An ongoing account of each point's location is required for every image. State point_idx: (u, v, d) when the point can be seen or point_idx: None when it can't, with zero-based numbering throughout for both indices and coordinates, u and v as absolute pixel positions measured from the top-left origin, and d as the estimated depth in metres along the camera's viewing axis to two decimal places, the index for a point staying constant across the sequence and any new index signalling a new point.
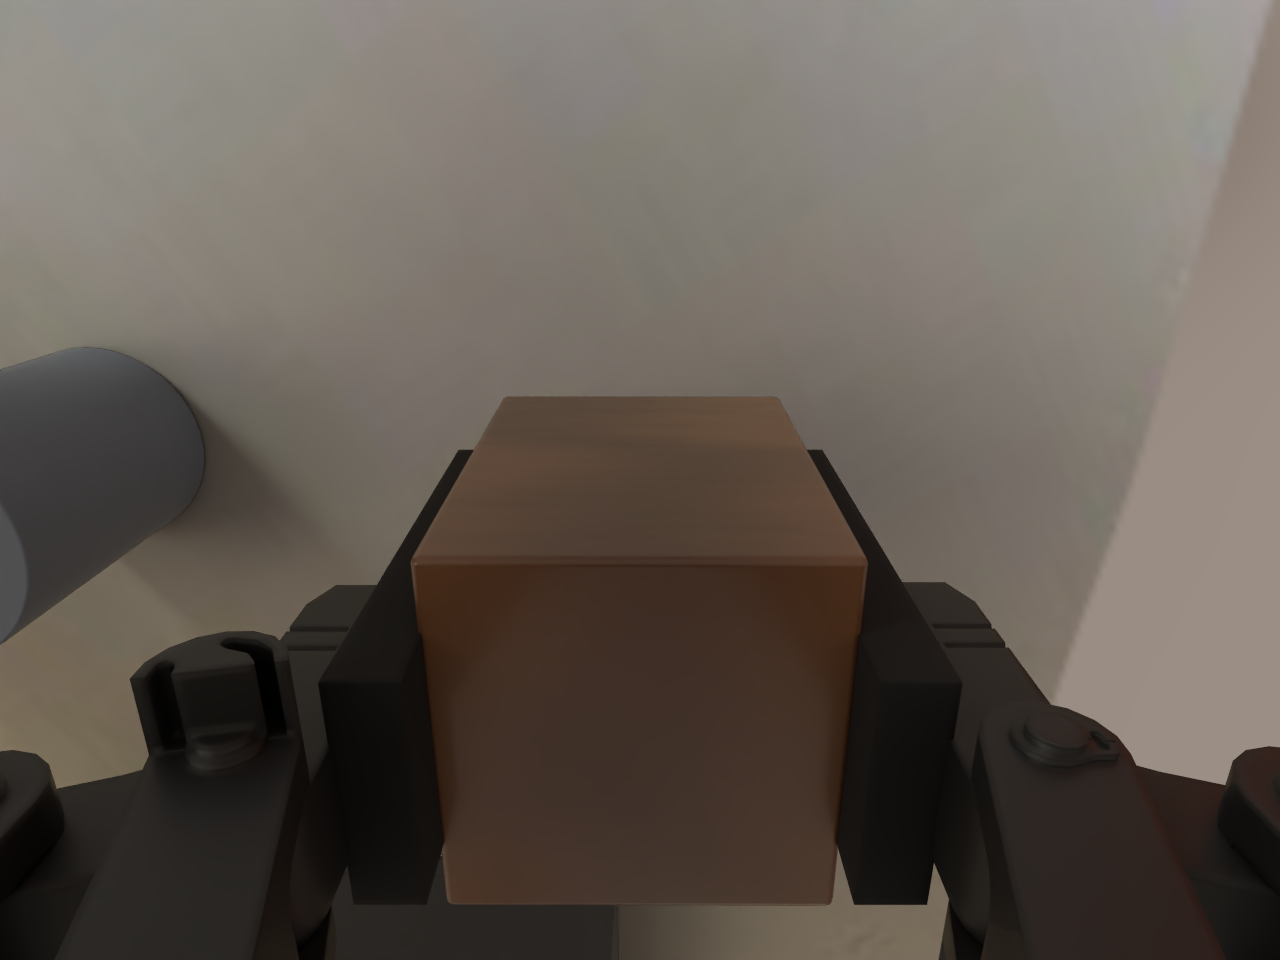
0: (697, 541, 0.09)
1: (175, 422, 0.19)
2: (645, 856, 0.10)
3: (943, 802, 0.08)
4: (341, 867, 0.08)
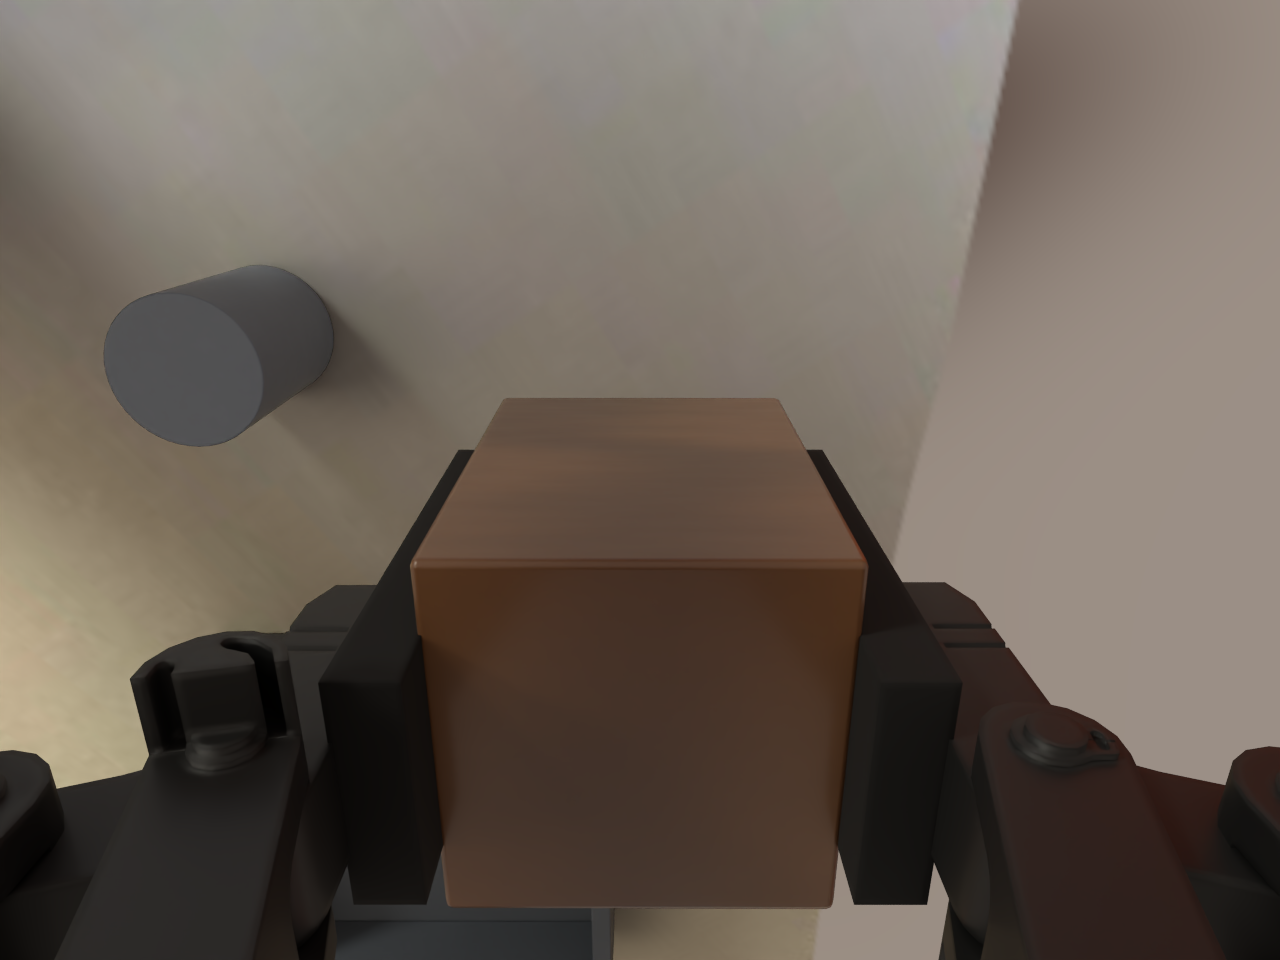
0: (697, 543, 0.09)
1: (319, 313, 0.29)
2: (644, 859, 0.10)
3: (943, 804, 0.08)
4: (341, 867, 0.08)
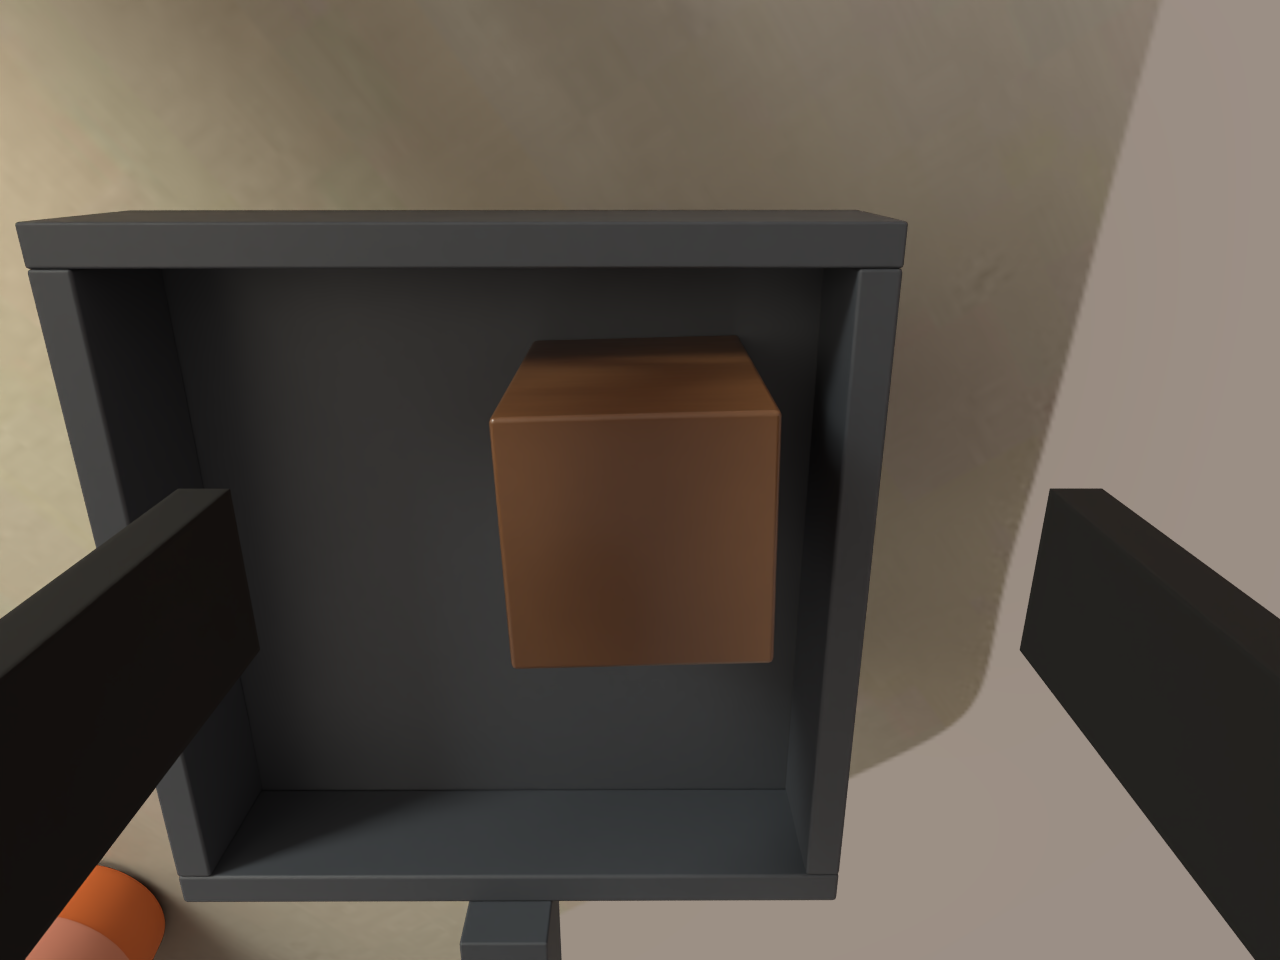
0: (672, 405, 0.13)
1: None
2: (644, 627, 0.14)
3: None
4: None
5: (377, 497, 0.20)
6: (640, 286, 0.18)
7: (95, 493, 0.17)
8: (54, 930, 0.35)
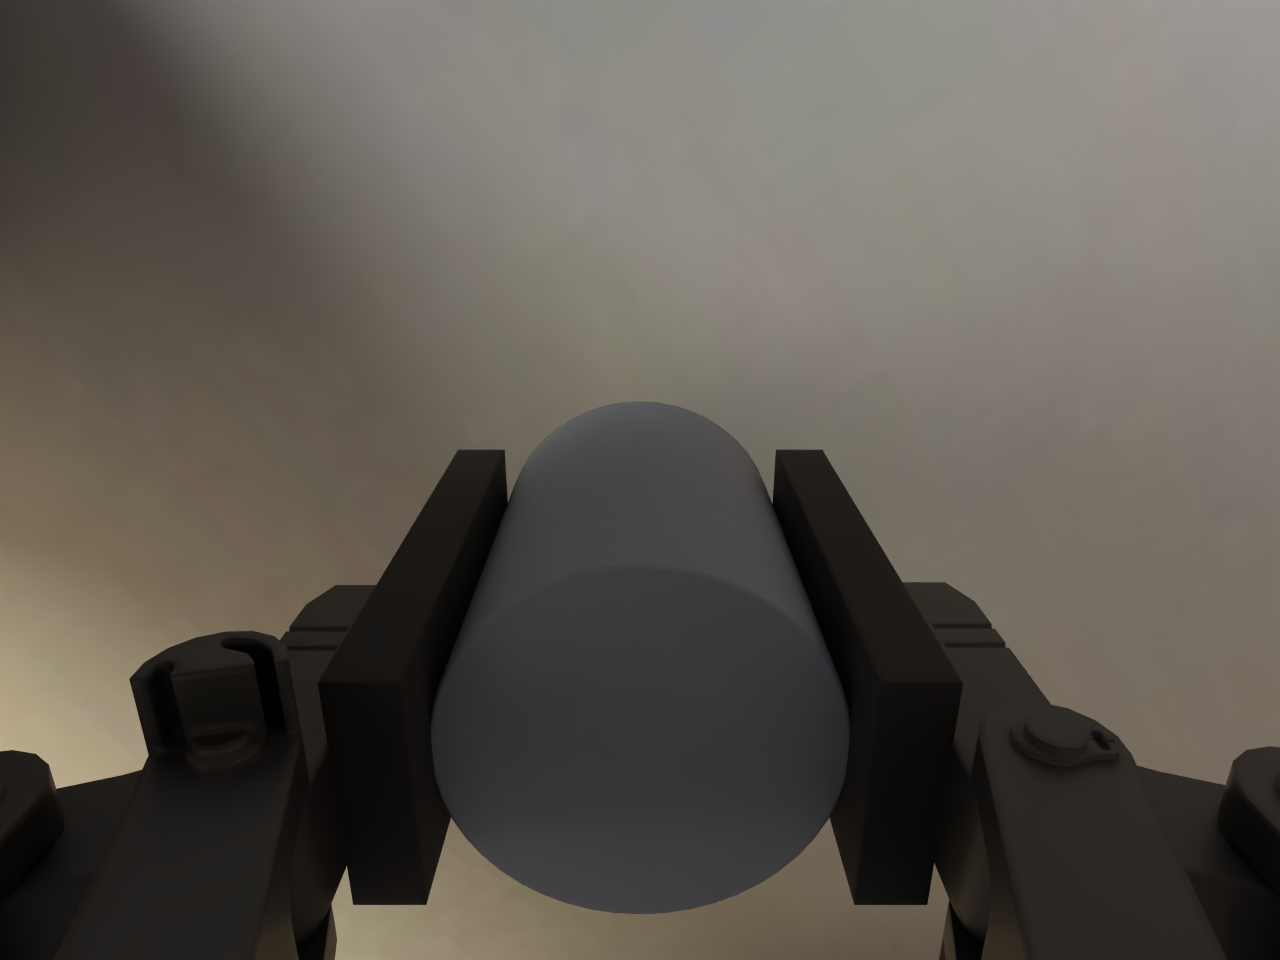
0: None
1: None
2: None
3: (943, 803, 0.08)
4: (340, 867, 0.08)
5: None
6: None
7: None
8: None
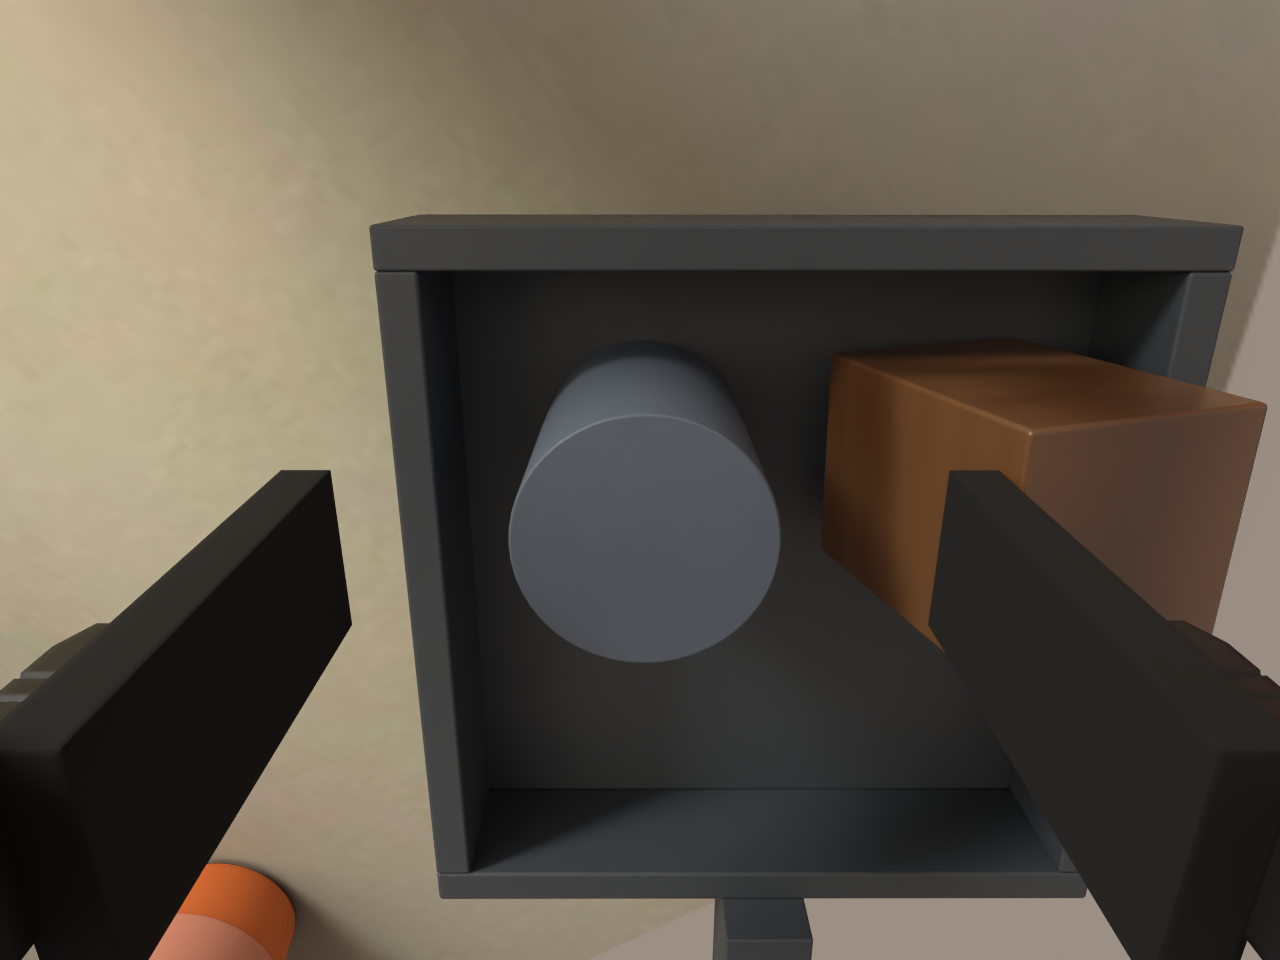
0: (1165, 406, 0.13)
1: None
2: None
3: (1268, 880, 0.07)
4: (16, 953, 0.07)
5: None
6: (920, 290, 0.18)
7: (410, 492, 0.17)
8: (203, 929, 0.35)
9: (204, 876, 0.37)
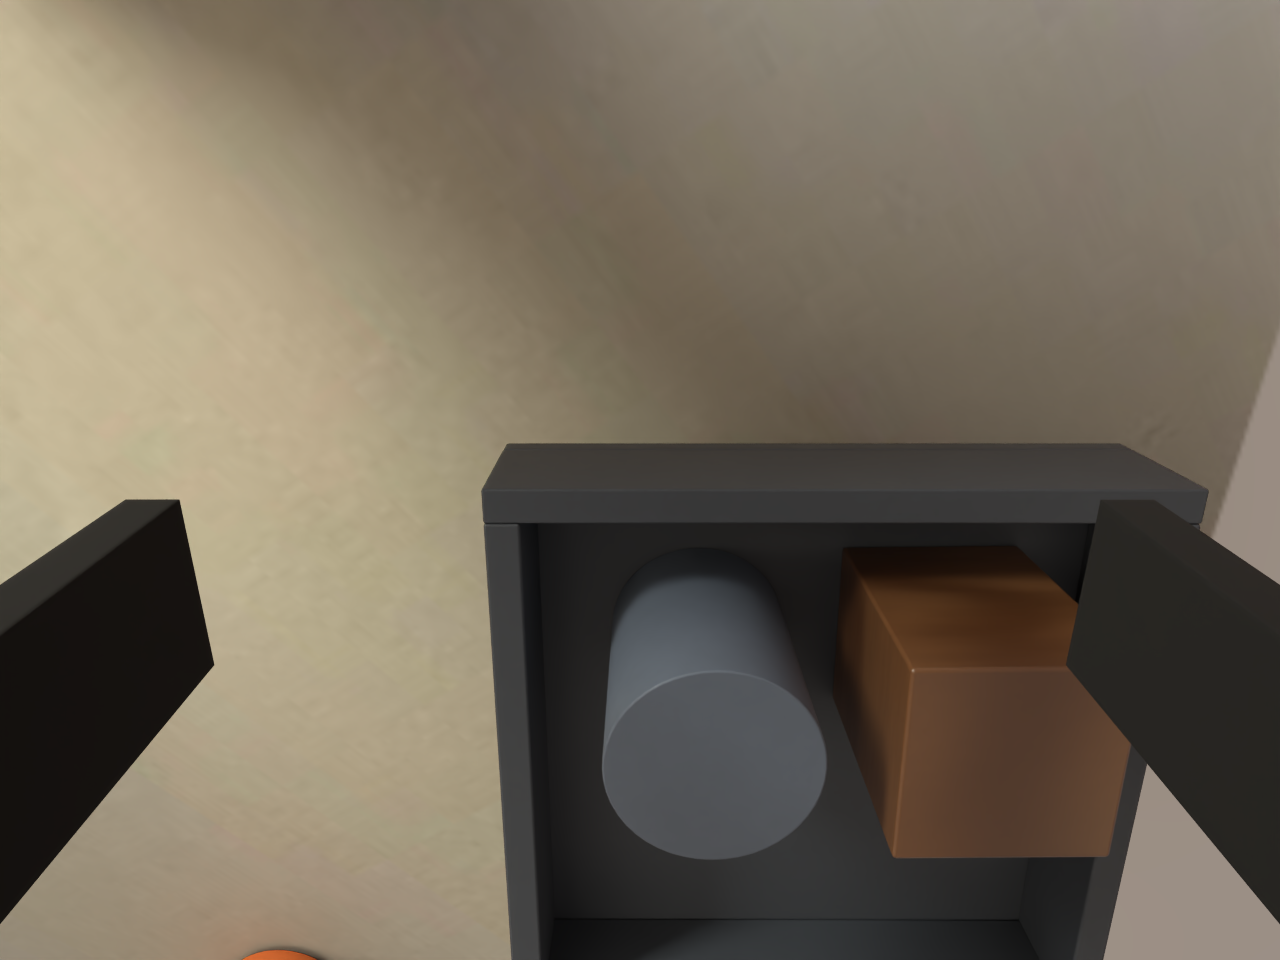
0: (1050, 657, 0.17)
1: None
2: (1008, 828, 0.17)
3: None
4: None
5: None
6: None
7: (505, 694, 0.20)
8: None
9: None
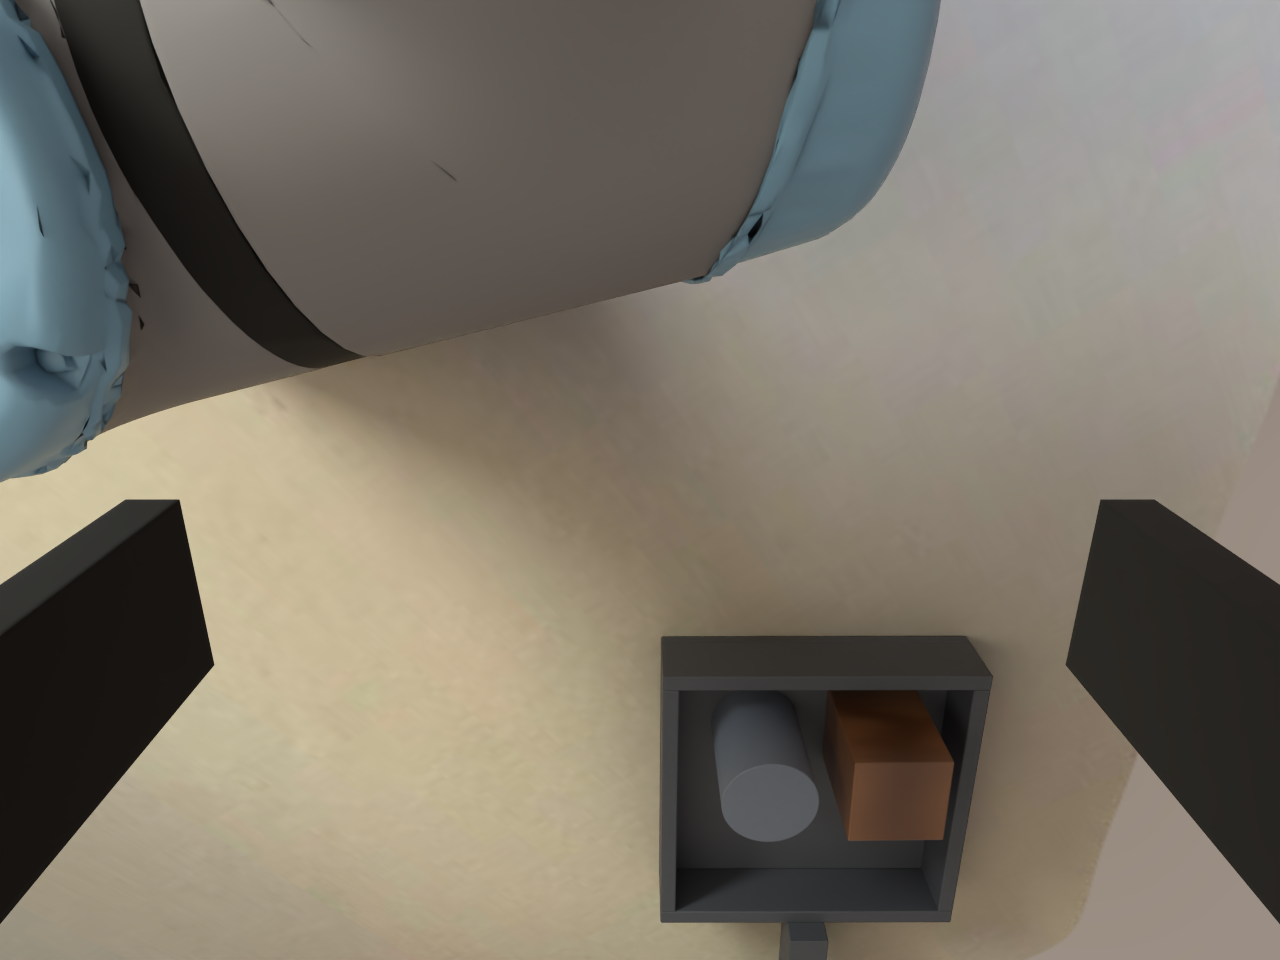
0: (915, 756, 0.39)
1: None
2: (898, 827, 0.40)
3: None
4: None
5: None
6: None
7: (667, 764, 0.42)
8: None
9: None
